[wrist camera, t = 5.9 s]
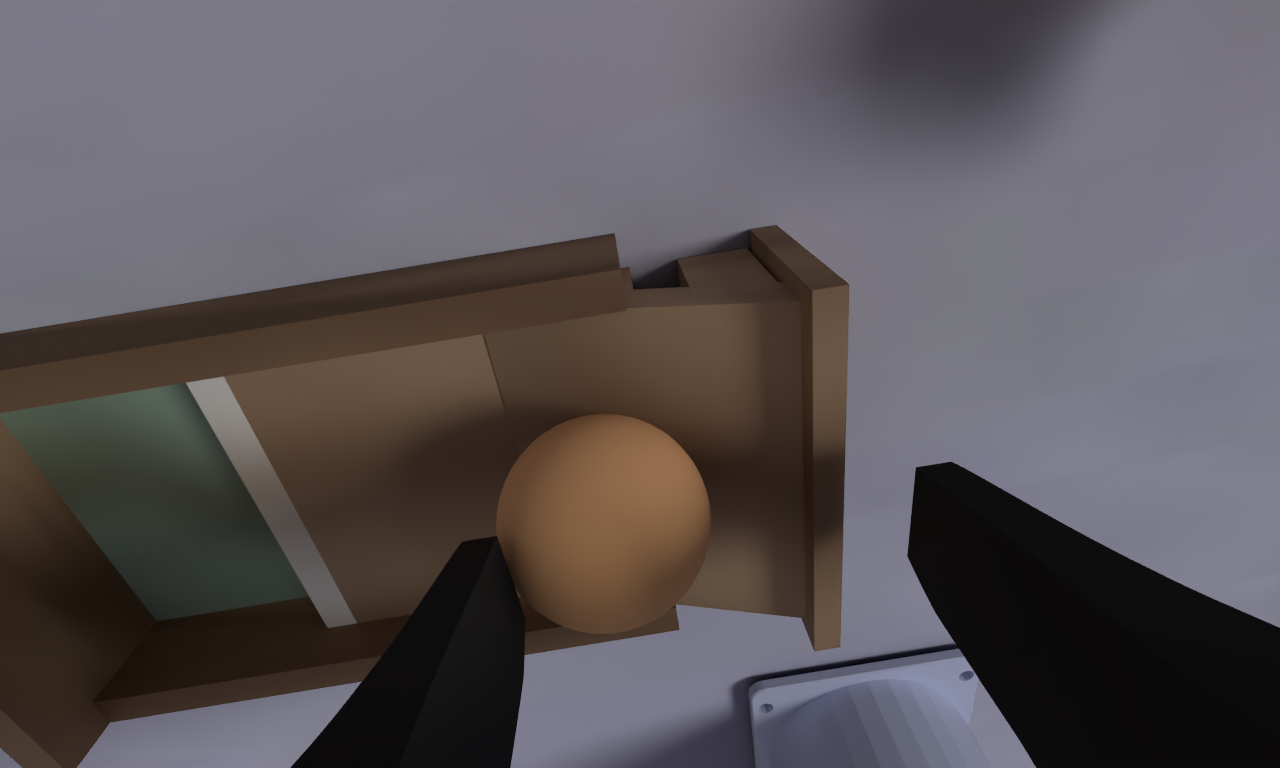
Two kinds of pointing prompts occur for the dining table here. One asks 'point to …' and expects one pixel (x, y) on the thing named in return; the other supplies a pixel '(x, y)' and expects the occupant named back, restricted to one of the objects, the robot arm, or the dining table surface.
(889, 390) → the dining table surface
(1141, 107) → the dining table surface
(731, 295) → the wooden shadow box
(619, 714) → the dining table surface
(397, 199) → the dining table surface
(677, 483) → the ball
